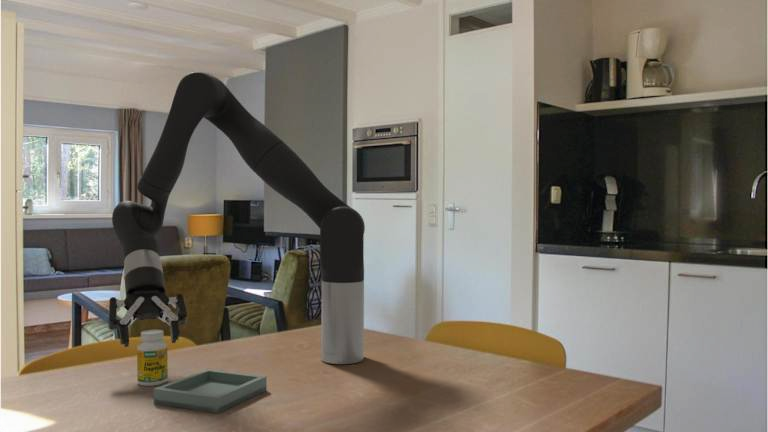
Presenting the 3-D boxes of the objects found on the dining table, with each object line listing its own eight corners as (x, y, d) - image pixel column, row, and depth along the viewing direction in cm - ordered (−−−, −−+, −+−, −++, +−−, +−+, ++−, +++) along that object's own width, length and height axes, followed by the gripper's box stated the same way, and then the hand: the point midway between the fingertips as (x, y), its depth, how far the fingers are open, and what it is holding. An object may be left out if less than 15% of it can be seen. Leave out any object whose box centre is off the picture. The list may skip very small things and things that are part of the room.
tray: (207, 382, 117) (207, 369, 117) (266, 390, 112) (266, 376, 112) (153, 403, 104) (153, 388, 104) (217, 413, 99) (217, 397, 99)
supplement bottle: (163, 377, 120) (163, 327, 120) (170, 383, 116) (171, 332, 116) (134, 381, 117) (134, 330, 117) (140, 388, 113) (140, 335, 113)
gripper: (107, 266, 123) (111, 334, 113) (182, 263, 129) (192, 328, 119) (105, 289, 127) (109, 357, 117) (177, 286, 134) (187, 350, 124)
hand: (151, 342), depth 118 cm, fingers open, 8 cm apart
